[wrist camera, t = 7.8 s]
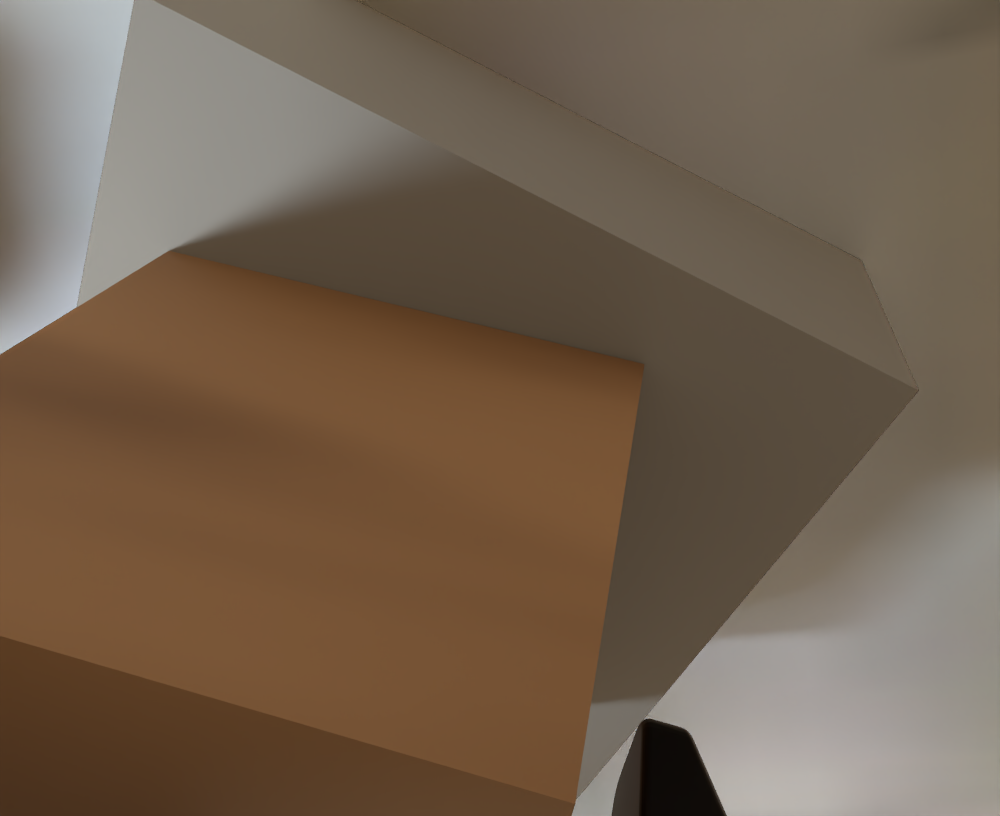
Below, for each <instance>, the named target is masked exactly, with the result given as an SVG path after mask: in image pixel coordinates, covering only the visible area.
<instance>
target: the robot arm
mask: <svg viewBox="0 0 1000 816" xmlns="http://www.w3.org/2000/svg"><path fill="white" fill-rule="evenodd" d="M612 816H727V815H726V813H725V811H724V808H723V806H722V804H721V802H720V799H719V797H718V795H717V792H716V790H715V788H714V786H713V783H712V781H711V779H710V776H709V774H708V772H707V770H706V767H705V765H704V763H703V760H702V758H701V756H700V754H699V751H698V749H697V747H696V744H695V742H694V740H693V738H692V736H691V735H690V733H689V732H688V731H687V730H686V729H684V728H681V727H678V726H674V725H671V724H667V723H663V722H660V721H656V720H653V719H645V720H643V721H642V722H641V723H640V724H639V726H638V728H637V731H636V734H635V737H634V739H633V742H632V745H631V747H630V750H629V753H628V756H627V758H626V761H625V764H624V767H623V769H622V772H621V775H620V778H619V781H618V785H617V789H616V793H615V798H614V804H613V810H612Z"/></svg>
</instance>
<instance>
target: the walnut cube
mask: <svg viewBox="0 0 1000 816" xmlns="http://www.w3.org/2000/svg"><path fill="white" fill-rule="evenodd" d="M643 371H644V364H642V363H638V362H633V361H629V360H625V359H621V358H617V357H612V356H608V355H604V354H600V353H596V352H592V351H587V350H583V349H579V348H575V347H571V346H566V345H562V344H558V343H554V342H550V341H545V340H541V339H537V338H533V337H529V336H524V335H520V334H516V333H512V332H508V331H504V330H499V329H495V328H491V327H487V326H483V325H478V324H474V323H470V322H466V321H462V320H457V319H453V318H449V317H445V316H441V315H437V314H432V313H428V312H424V311H420V310H416V309H411V308H407V307H403V306H399V305H395V304H390V303H386V302H382V301H378V300H374V299H369V298H365V297H361V296H357V295H353V294H349V293H344V292H340V291H336V290H332V289H328V288H323V287H319V286H315V285H311V284H307V283H302V282H298V281H294V280H290V279H286V278H282V277H277V276H273V275H269V274H265V273H261V272H256V271H252V270H248V269H244V268H240V267H235V266H231V265H227V264H223V263H219V262H214V261H210V260H206V259H202V258H198V257H193V256H189V255H185V254H181V253H176V252H172V251H167V252H166V253H164V254H163V255H161V256H159V257H158V258H156V259H154V260H153V261H151V262H150V263H148V264H146V265H145V266H143V267H142V268H140V269H138V270H137V271H135V272H133V273H132V274H130V275H129V276H127V277H125V278H124V279H122V280H120V281H119V282H117V283H116V284H114V285H112V286H111V287H109V288H108V289H106V290H104V291H103V292H101V293H99V294H98V295H96V296H95V297H93V298H91V299H90V300H88V301H86V302H85V303H83V304H82V305H80V306H78V307H77V308H75V309H73V310H72V311H70V312H69V313H67V314H65V315H64V316H62V317H61V318H59V319H57V320H56V321H54V322H52V323H51V324H49V325H48V326H46V327H44V328H43V329H41V330H39V331H38V332H36V333H35V334H33V335H31V336H30V337H28V338H26V339H25V340H23V341H22V342H20V343H18V344H17V345H15V346H14V347H12V348H10V349H9V350H7V351H5V352H4V353H2V354H1V355H0V816H571V815H572V812H573V809H574V806H575V801H576V795H577V789H578V782H579V776H580V770H581V763H582V757H583V751H584V744H585V738H586V732H587V725H588V719H589V713H590V706H591V700H592V694H593V687H594V681H595V675H596V668H597V662H598V656H599V649H600V643H601V637H602V630H603V624H604V618H605V611H606V605H607V599H608V592H609V586H610V580H611V573H612V567H613V561H614V554H615V548H616V542H617V535H618V529H619V523H620V516H621V510H622V504H623V497H624V491H625V485H626V478H627V472H628V466H629V459H630V453H631V447H632V440H633V434H634V428H635V421H636V415H637V409H638V402H639V396H640V390H641V383H642V377H643Z"/></svg>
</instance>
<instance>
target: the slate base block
mask: <svg viewBox="0 0 1000 816" xmlns="http://www.w3.org/2000/svg"><path fill="white" fill-rule="evenodd" d="M167 251H172V252H176V253H181V254H185V255H189V256H193V257H198V258H202V259H206V260H210V261H214V262H219V263H223V264H227V265H231V266H235V267H240V268H244V269H248V270H252V271H256V272H261V273H265V274H269V275H273V276H277V277H282V278H286V279H290V280H294V281H298V282H302V283H307V284H311V285H315V286H319V287H323V288H328V289H332V290H336V291H340V292H344V293H349V294H353V295H357V296H361V297H365V298H369V299H374V300H378V301H382V302H386V303H390V304H395V305H399V306H403V307H407V308H411V309H416V310H420V311H424V312H428V313H432V314H437V315H441V316H445V317H449V318H453V319H457V320H462V321H466V322H470V323H474V324H478V325H483V326H487V327H491V328H495V329H499V330H504V331H508V332H512V333H516V334H520V335H524V336H529V337H533V338H537V339H541V340H545V341H550V342H554V343H558V344H562V345H566V346H571V347H575V348H579V349H583V350H587V351H592V352H596V353H600V354H604V355H608V356H612V357H617V358H621V359H625V360H629V361H633V362H638V363H642V364H644V371H643V377H642V383H641V390H640V396H639V402H638V409H637V415H636V421H635V428H634V434H633V440H632V447H631V453H630V459H629V466H628V472H627V478H626V485H625V491H624V497H623V504H622V510H621V516H620V523H619V529H618V535H617V542H616V548H615V554H614V561H613V567H612V573H611V580H610V586H609V592H608V599H607V605H606V611H605V618H604V624H603V630H602V637H601V643H600V649H599V656H598V662H597V668H596V675H595V681H594V687H593V694H592V700H591V706H590V713H589V719H588V725H587V732H586V738H585V744H584V751H583V757H582V763H581V770H580V776H579V782H578V789H577V795H576V799H577V798H578V797H579V796H580V794H581V793H582V792H583V791H584V790H585V788H586V787H587V786H588V785H589V784H590V782H591V781H592V780H593V779H594V778H595V777H596V775H597V774H598V773H599V772H600V771H601V769H602V768H603V767H604V766H605V765H606V763H607V762H608V761H609V760H610V759H611V757H612V756H613V755H614V754H615V753H616V751H617V750H618V749H619V748H620V747H621V745H622V744H623V743H624V742H625V741H626V740H627V738H628V737H629V736H630V735H631V734H632V732H633V731H634V730H635V729H636V728H637V726H638V725H639V724H640V723H641V722H642V720H643V719H644V718H645V717H646V716H647V714H648V713H649V712H650V711H651V710H652V708H653V707H654V706H655V705H656V704H657V702H658V701H659V700H660V699H661V698H662V697H663V695H664V694H665V693H666V692H667V691H668V689H669V688H670V687H671V686H672V685H673V683H674V682H675V681H676V680H677V679H678V677H679V676H680V675H681V674H682V673H683V671H684V670H685V669H686V668H687V667H688V665H689V664H690V663H691V662H692V661H693V659H694V658H695V657H696V656H697V655H698V654H699V652H700V651H701V650H702V649H703V648H704V646H705V645H706V644H707V643H708V642H709V640H710V639H711V638H712V637H713V636H714V634H715V633H716V632H717V631H718V630H719V628H720V627H721V626H722V625H723V624H724V622H725V621H726V620H727V619H728V618H729V616H730V615H731V614H732V613H733V612H734V611H735V609H736V608H737V607H738V606H739V605H740V603H741V602H742V601H743V600H744V599H745V597H746V596H747V595H748V594H749V593H750V591H751V590H752V589H753V588H754V587H755V585H756V584H757V583H758V582H759V581H760V579H761V578H762V577H763V576H764V575H765V574H766V572H767V571H768V570H769V569H770V568H771V566H772V565H773V564H774V563H775V562H776V560H777V559H778V558H779V557H780V556H781V554H782V553H783V552H784V551H785V550H786V548H787V547H788V546H789V545H790V544H791V542H792V541H793V540H794V539H795V538H796V536H797V535H798V534H799V533H800V532H801V531H802V529H803V528H804V527H805V526H806V525H807V523H808V522H809V521H810V520H811V519H812V517H813V516H814V515H815V514H816V513H817V511H818V510H819V509H820V508H821V507H822V505H823V504H824V503H825V502H826V501H827V499H828V498H829V497H830V496H831V495H832V493H833V492H834V491H835V490H836V489H837V488H838V486H839V485H840V484H841V483H842V482H843V480H844V479H845V478H846V477H847V476H848V474H849V473H850V472H851V471H852V470H853V468H854V467H855V466H856V465H857V464H858V462H859V461H860V460H861V459H862V458H863V456H864V455H865V454H866V453H867V452H868V451H869V449H870V448H871V447H872V446H873V445H874V443H875V442H876V441H877V440H878V439H879V437H880V436H881V435H882V434H883V433H884V431H885V430H886V429H887V428H888V427H889V425H890V424H891V423H892V422H893V421H894V419H895V418H896V417H897V416H898V415H899V413H900V412H901V411H902V410H903V409H904V408H905V406H906V405H907V404H908V403H909V402H910V400H911V399H912V398H913V397H914V396H915V394H916V393H917V392H918V391H919V390H918V387H917V385H916V383H915V381H914V378H913V376H912V374H911V372H910V369H909V367H908V365H907V362H906V360H905V358H904V356H903V353H902V351H901V349H900V346H899V344H898V342H897V340H896V337H895V335H894V333H893V331H892V328H891V326H890V324H889V321H888V319H887V317H886V315H885V312H884V310H883V308H882V306H881V303H880V301H879V299H878V296H877V294H876V292H875V290H874V287H873V285H872V283H871V281H870V278H869V276H868V274H867V271H866V269H865V267H864V265H863V262H862V260H860V259H858V258H856V257H854V256H852V255H850V254H848V253H846V252H844V251H842V250H841V249H839V248H837V247H835V246H833V245H831V244H829V243H827V242H825V241H823V240H821V239H819V238H817V237H815V236H813V235H811V234H809V233H807V232H806V231H804V230H802V229H800V228H798V227H796V226H794V225H792V224H790V223H788V222H786V221H784V220H782V219H780V218H778V217H776V216H774V215H772V214H771V213H769V212H767V211H765V210H763V209H761V208H759V207H757V206H755V205H753V204H751V203H749V202H747V201H745V200H743V199H741V198H739V197H737V196H736V195H734V194H732V193H730V192H728V191H726V190H724V189H722V188H720V187H718V186H716V185H714V184H712V183H710V182H708V181H706V180H704V179H702V178H701V177H699V176H697V175H695V174H693V173H691V172H689V171H687V170H685V169H683V168H681V167H679V166H677V165H675V164H673V163H671V162H669V161H667V160H666V159H664V158H662V157H660V156H658V155H656V154H654V153H652V152H650V151H648V150H646V149H644V148H642V147H640V146H638V145H636V144H634V143H632V142H631V141H629V140H627V139H625V138H623V137H621V136H619V135H617V134H615V133H613V132H611V131H609V130H607V129H605V128H603V127H601V126H599V125H597V124H596V123H594V122H592V121H590V120H588V119H586V118H584V117H582V116H580V115H578V114H576V113H574V112H572V111H570V110H568V109H566V108H564V107H562V106H561V105H559V104H557V103H555V102H553V101H551V100H549V99H547V98H545V97H543V96H541V95H539V94H537V93H535V92H533V91H531V90H529V89H527V88H526V87H524V86H522V85H520V84H518V83H516V82H514V81H512V80H510V79H508V78H506V77H504V76H502V75H500V74H498V73H496V72H494V71H492V70H491V69H489V68H487V67H485V66H483V65H481V64H479V63H477V62H475V61H473V60H471V59H469V58H467V57H465V56H463V55H461V54H459V53H457V52H456V51H454V50H452V49H450V48H448V47H446V46H444V45H442V44H440V43H438V42H436V41H434V40H432V39H430V38H428V37H426V36H424V35H422V34H421V33H419V32H417V31H415V30H413V29H411V28H409V27H407V26H405V25H403V24H401V23H399V22H397V21H395V20H393V19H391V18H389V17H387V16H386V15H384V14H382V13H380V12H378V11H376V10H374V9H372V8H370V7H368V6H366V5H364V4H362V3H360V2H358V1H356V0H134V4H133V9H132V15H131V20H130V25H129V31H128V36H127V41H126V47H125V52H124V57H123V63H122V68H121V73H120V79H119V84H118V89H117V95H116V100H115V105H114V111H113V116H112V121H111V127H110V132H109V137H108V143H107V148H106V153H105V159H104V164H103V169H102V175H101V180H100V185H99V191H98V196H97V201H96V207H95V212H94V217H93V223H92V228H91V233H90V239H89V244H88V249H87V255H86V260H85V265H84V271H83V276H82V281H81V287H80V292H79V297H78V303H77V307H78V306H80V305H82V304H83V303H85V302H86V301H88V300H90V299H91V298H93V297H95V296H96V295H98V294H99V293H101V292H103V291H104V290H106V289H108V288H109V287H111V286H112V285H114V284H116V283H117V282H119V281H120V280H122V279H124V278H125V277H127V276H129V275H130V274H132V273H133V272H135V271H137V270H138V269H140V268H142V267H143V266H145V265H146V264H148V263H150V262H151V261H153V260H154V259H156V258H158V257H159V256H161V255H163V254H164V253H166V252H167Z"/></svg>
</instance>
